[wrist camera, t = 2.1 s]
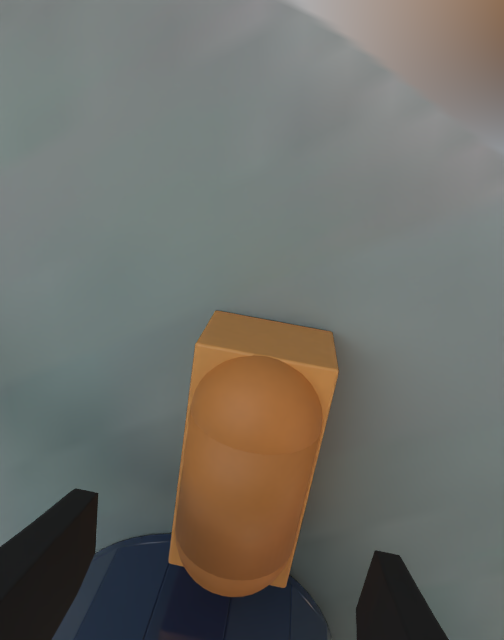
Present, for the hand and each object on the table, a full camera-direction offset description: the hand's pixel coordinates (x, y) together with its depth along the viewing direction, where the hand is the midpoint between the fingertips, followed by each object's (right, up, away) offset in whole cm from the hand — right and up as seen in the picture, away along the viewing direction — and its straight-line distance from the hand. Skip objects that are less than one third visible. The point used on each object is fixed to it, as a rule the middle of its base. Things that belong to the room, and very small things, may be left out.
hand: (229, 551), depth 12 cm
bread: (+1, +2, +6) cm, 6 cm away
